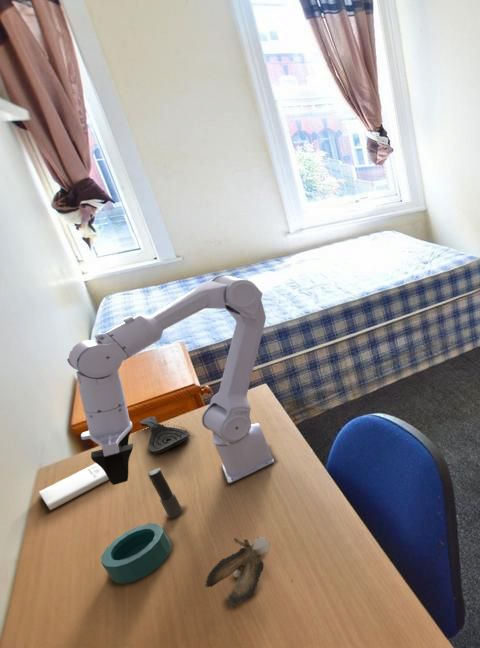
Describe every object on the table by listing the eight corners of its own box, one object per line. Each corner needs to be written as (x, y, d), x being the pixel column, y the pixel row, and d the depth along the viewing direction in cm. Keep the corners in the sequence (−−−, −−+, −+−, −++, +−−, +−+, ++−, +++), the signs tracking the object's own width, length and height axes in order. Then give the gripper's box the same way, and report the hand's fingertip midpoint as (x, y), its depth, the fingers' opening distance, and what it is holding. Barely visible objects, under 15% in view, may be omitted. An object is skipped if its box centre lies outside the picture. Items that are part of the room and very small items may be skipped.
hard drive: (41, 496, 104) (108, 462, 113) (51, 511, 99) (120, 474, 108) (38, 491, 103) (105, 456, 112) (47, 505, 99) (117, 468, 108)
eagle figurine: (226, 555, 83) (196, 596, 74) (240, 523, 82) (211, 561, 73) (268, 569, 84) (243, 612, 75) (282, 538, 83) (259, 577, 74)
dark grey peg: (181, 507, 97) (160, 465, 92) (183, 513, 95) (161, 471, 91) (168, 513, 95) (146, 471, 91) (169, 520, 94) (147, 478, 89)
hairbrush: (158, 404, 130) (192, 429, 115) (164, 415, 131) (198, 441, 116) (123, 421, 124) (154, 449, 109) (129, 432, 125) (160, 461, 110)
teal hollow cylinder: (169, 531, 91) (160, 515, 89) (173, 561, 84) (164, 544, 83) (111, 559, 86) (101, 543, 84) (111, 593, 79) (100, 577, 78)
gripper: (78, 397, 87) (94, 462, 90) (71, 428, 76) (89, 500, 79) (127, 388, 91) (140, 450, 95) (127, 416, 80) (142, 485, 84)
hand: (120, 472), depth 87 cm, fingers open, 7 cm apart
